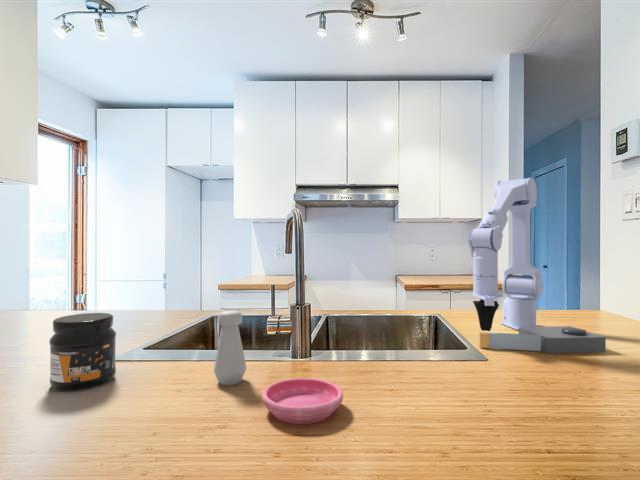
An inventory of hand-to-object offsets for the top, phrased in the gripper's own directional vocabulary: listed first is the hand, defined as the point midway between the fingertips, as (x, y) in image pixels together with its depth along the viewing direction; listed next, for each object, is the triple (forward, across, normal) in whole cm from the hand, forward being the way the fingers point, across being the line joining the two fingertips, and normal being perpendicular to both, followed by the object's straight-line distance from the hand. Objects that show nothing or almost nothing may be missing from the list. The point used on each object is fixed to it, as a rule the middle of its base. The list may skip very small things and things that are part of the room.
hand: (485, 330), depth 97 cm
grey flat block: (+4, +3, -17) cm, 18 cm away
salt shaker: (+3, -40, +49) cm, 63 cm away
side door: (+3, -4, -5) cm, 7 cm away
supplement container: (+3, -47, +75) cm, 89 cm away
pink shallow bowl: (+4, -48, +32) cm, 58 cm away
